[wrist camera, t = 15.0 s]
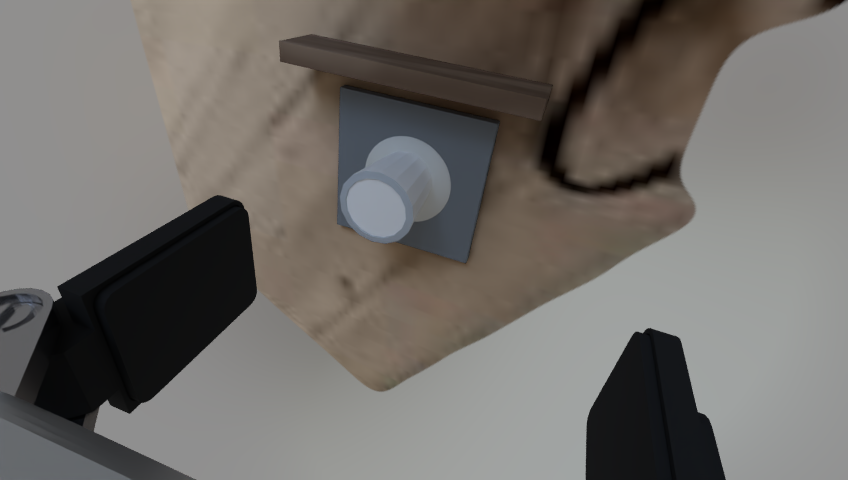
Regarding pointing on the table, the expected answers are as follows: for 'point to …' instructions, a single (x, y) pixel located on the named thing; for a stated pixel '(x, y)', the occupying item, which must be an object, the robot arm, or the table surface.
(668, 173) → the table surface
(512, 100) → the divider wall
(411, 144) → the mat
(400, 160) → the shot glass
